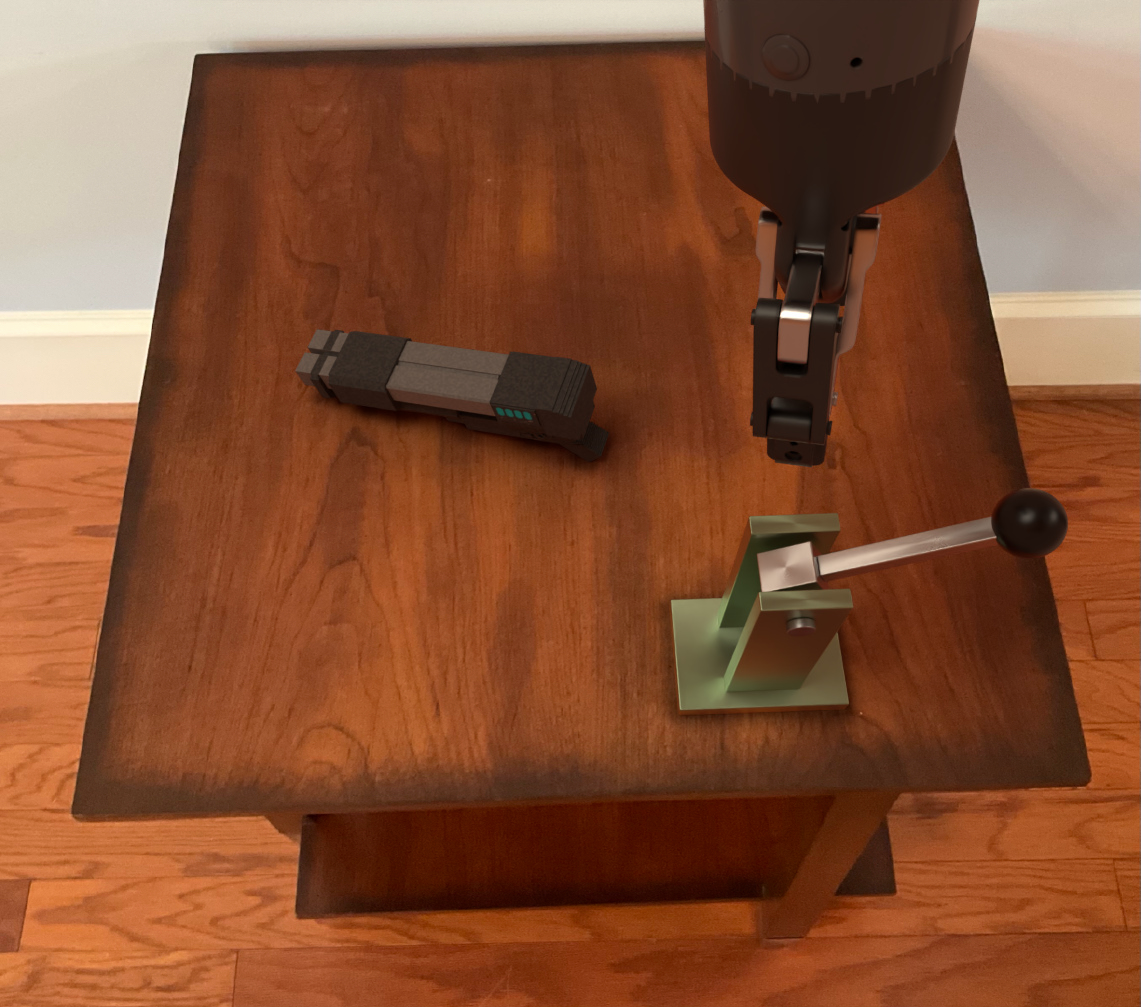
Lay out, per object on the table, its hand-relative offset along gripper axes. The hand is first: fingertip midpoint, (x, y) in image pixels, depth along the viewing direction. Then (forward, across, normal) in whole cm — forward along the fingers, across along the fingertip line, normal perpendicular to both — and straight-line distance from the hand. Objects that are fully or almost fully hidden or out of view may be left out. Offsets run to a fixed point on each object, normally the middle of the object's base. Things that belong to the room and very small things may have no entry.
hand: (812, 373), depth 42 cm
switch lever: (+12, -1, -6) cm, 13 cm away
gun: (+20, +10, +25) cm, 33 cm away
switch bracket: (+25, -2, +2) cm, 25 cm away
